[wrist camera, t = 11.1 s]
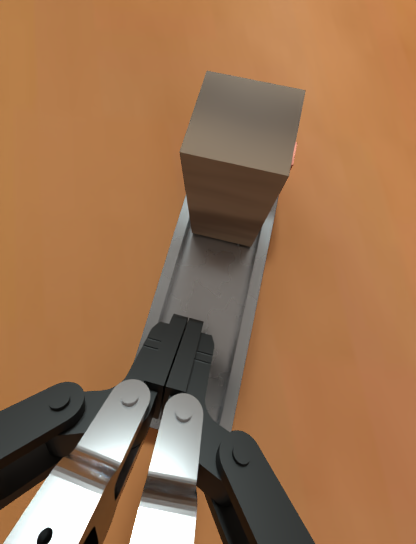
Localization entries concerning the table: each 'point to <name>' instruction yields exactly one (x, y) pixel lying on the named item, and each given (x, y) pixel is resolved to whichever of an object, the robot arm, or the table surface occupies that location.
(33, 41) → the table surface
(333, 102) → the table surface
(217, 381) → the track
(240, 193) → the slider block
